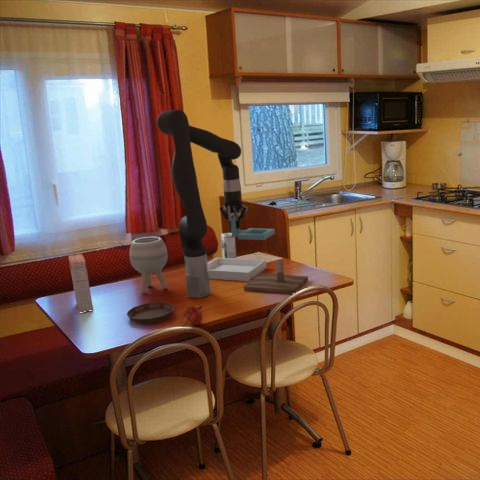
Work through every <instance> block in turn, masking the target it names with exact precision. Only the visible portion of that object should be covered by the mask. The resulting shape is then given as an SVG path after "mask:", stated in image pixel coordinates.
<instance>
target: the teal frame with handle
mask: <svg viewBox="0 0 480 480" xmlns="http://www.w3.org/2000/svg"><path fill="white" fill-rule="evenodd" d="M240 228H241V227H240ZM240 228H239V229H236V218H235V216H234V217H233V218H231V228H230V229H231V230H230V231H231V233H232V236H234V237H235V238H237V239H238V240H251V241H252V240H253V241H254V240H255V241H265V240H267V239H268V238H270V237H272V236H273V235H275V233H276V229H275V228H262V227H261V228H260V227H259V228H257V227H256V228H255V227H254V228H253V227H249V228H247V229H240Z"/></svg>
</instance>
